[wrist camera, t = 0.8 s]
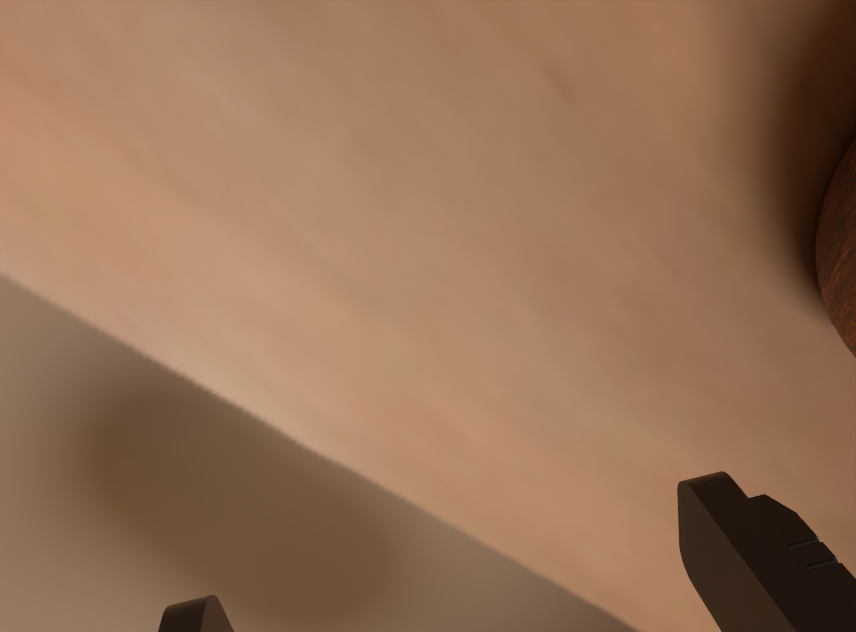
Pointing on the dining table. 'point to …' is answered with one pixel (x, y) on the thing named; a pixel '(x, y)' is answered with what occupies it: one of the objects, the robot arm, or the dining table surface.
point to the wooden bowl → (839, 249)
